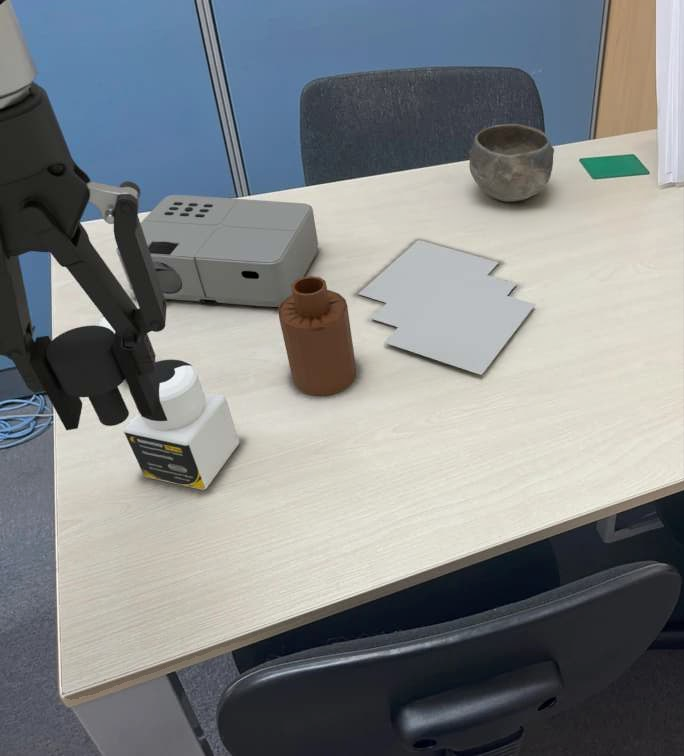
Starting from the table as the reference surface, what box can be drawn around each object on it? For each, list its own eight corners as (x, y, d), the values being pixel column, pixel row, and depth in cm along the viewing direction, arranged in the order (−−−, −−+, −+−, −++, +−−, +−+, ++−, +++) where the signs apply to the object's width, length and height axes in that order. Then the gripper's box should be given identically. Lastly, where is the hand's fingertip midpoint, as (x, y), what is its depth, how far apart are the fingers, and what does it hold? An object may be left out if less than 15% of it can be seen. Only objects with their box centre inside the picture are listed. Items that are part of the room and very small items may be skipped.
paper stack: (322, 326, 93) (321, 321, 93) (418, 240, 111) (418, 236, 110) (481, 379, 86) (481, 374, 86) (557, 278, 104) (557, 274, 103)
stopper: (78, 443, 51) (39, 369, 47) (86, 403, 54) (50, 330, 50) (144, 431, 52) (112, 358, 48) (148, 392, 56) (118, 320, 51)
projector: (181, 239, 109) (166, 192, 104) (322, 248, 108) (314, 202, 103) (129, 301, 96) (109, 251, 91) (288, 313, 95) (278, 263, 90)
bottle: (296, 401, 83) (276, 310, 74) (290, 361, 88) (270, 272, 79) (360, 389, 84) (348, 299, 76) (351, 351, 90) (338, 263, 81)
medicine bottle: (143, 477, 73) (103, 392, 65) (182, 430, 79) (150, 345, 71) (205, 492, 72) (172, 406, 64) (241, 442, 77) (215, 358, 69)
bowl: (461, 208, 119) (460, 151, 112) (480, 169, 130) (481, 115, 124) (543, 218, 117) (547, 160, 111) (555, 178, 129) (560, 123, 122)
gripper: (144, 59, 42) (233, 359, 58) (-204, 81, 38) (-9, 398, 54) (135, 104, 37) (235, 422, 52) (-271, 136, 33) (-33, 471, 48)
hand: (111, 409), depth 53 cm, fingers closed on stopper, 4 cm apart
